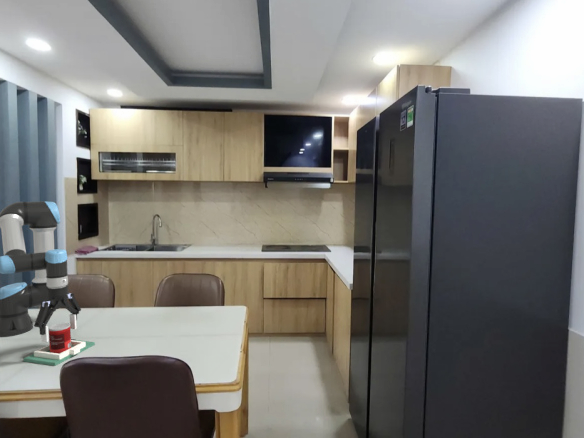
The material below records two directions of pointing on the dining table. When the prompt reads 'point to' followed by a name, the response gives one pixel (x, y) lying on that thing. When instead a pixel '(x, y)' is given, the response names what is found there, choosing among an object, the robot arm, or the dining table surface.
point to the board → (54, 358)
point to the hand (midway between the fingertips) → (59, 334)
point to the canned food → (59, 337)
